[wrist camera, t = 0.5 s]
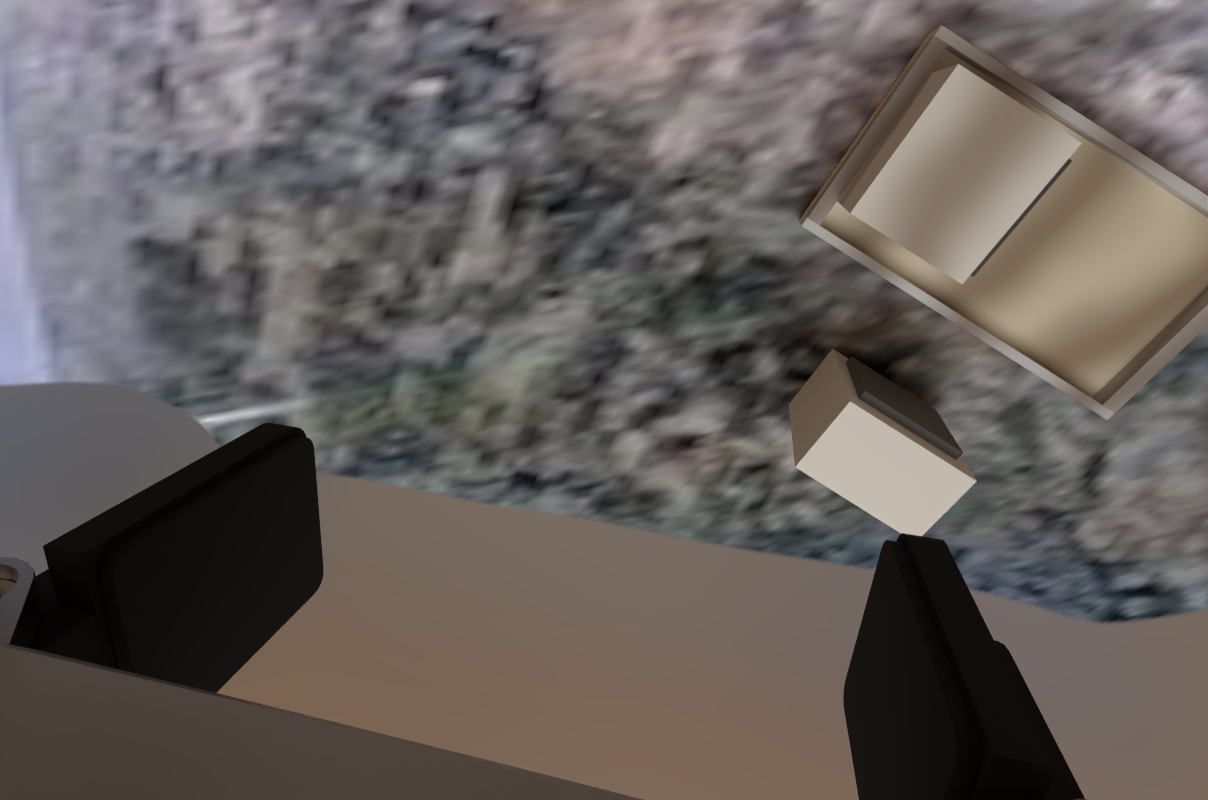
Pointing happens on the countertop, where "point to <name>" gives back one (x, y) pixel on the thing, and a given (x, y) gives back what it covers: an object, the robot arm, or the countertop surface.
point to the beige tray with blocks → (1022, 224)
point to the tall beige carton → (876, 445)
